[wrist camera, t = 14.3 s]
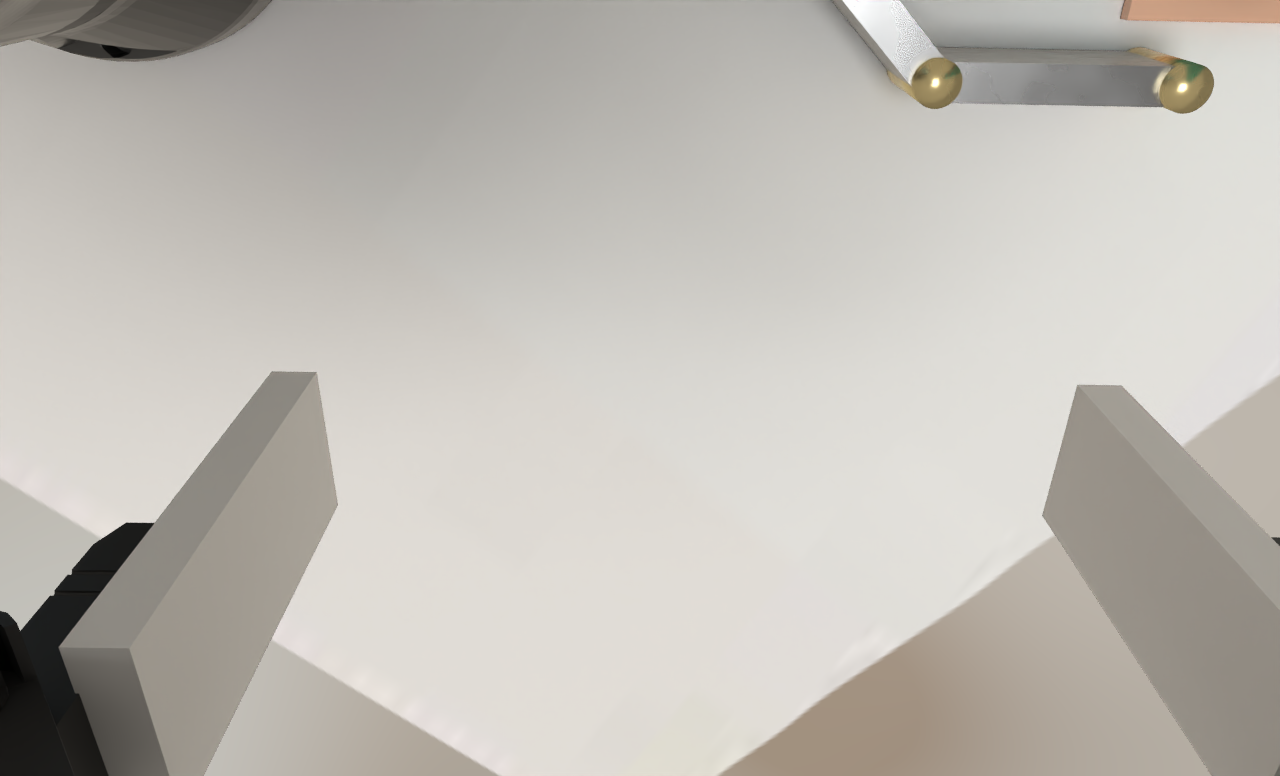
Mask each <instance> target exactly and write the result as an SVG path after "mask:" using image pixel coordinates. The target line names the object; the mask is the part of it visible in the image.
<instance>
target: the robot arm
mask: <svg viewBox="0 0 1280 776" xmlns="http://www.w3.org/2000/svg"><path fill="white" fill-rule="evenodd" d="M270 1H271V0H0V47H1V46H5V45H9V44H14V43H18V42H22V41H26V40H32V41H35V42H38V43H41V44H44V45H48V46H51V47H54V48H57V49H60V50H63V51H67V52H70V53H74V54H78V55H82V56H86V57H90V58H96V59H102V60H111V61H131V62H137V61H153V60H160V59H166V58H171V57H175V56H179V55H182V54H185V53H188V52H191V51H194V50H197V49H200V48H203V47H206V46H209V45H212V44H214V43H216V42H219V41H221V40H223V39H225V38H227V37H229V36H230V35H232V34H234V33H235V32H237V31H238V30H240V29H241V28H243V27H244V26H246V25H247V24H248V23H249V22H251V21H252V20H253V19H254V18H255V17H256V16H257V15H258V14H259V13H260V12H262V11H263V10H264V8H265V7H266V6H267V5H268V4H269V3H270ZM337 506H338V503H337V497H336V490H335V484H334V478H333V472H332V465H331V459H330V453H329V447H328V441H327V434H326V428H325V422H324V416H323V409H322V403H321V397H320V391H319V384H318V378H317V372H271V373H270V375H269V376H268V377H267V378H266V380H265V381H264V382H263V384H262V385H261V386H260V387H259V389H258V390H257V391H256V393H255V394H254V395H253V397H252V398H251V399H250V400H249V402H248V403H247V404H246V406H245V407H244V408H243V409H242V411H241V412H240V413H239V415H238V416H237V417H236V419H235V420H234V421H233V422H232V424H231V425H230V426H229V428H228V429H227V430H226V431H225V433H224V434H223V435H222V437H221V438H220V439H219V440H218V442H217V443H216V444H215V446H214V447H213V448H212V450H211V451H210V452H209V453H208V455H207V456H206V457H205V459H204V460H203V461H202V462H201V464H200V465H199V466H198V468H197V469H196V470H195V472H194V473H193V474H192V475H191V477H190V478H189V479H188V481H187V482H186V483H185V484H184V486H183V487H182V488H181V490H180V491H179V492H178V493H177V495H176V496H175V497H174V499H173V500H172V501H171V503H170V504H169V505H168V506H167V508H166V509H165V510H164V512H163V513H162V514H161V515H160V517H159V518H158V519H157V521H156V522H155V523H125V524H124V525H122V526H121V527H119V528H117V529H116V530H114V531H113V532H111V533H110V534H108V535H107V536H105V537H104V538H102V539H101V540H99V541H98V542H96V543H95V544H93V546H92V547H91V548H90V549H89V550H88V551H87V553H86V554H85V555H84V556H83V557H82V558H81V560H80V561H79V562H78V563H77V564H76V566H75V567H74V568H73V569H72V574H71V575H67V576H66V577H65V579H64V580H63V581H62V582H61V583H60V585H59V586H58V587H57V588H56V589H55V594H54V596H49V598H48V599H47V600H46V601H45V602H44V604H43V605H42V606H41V607H40V609H39V610H38V611H37V612H36V613H35V614H34V615H33V617H32V618H31V619H30V620H29V621H28V623H27V624H26V625H25V626H24V628H23V629H22V630H21V631H20V630H19V628H18V625H17V623H16V622H15V621H14V619H13V618H12V617H11V616H10V615H9V614H8V613H6V612H2V611H0V776H204V774H205V772H206V770H207V768H208V766H209V764H210V762H211V760H212V758H213V756H214V754H215V752H216V750H217V748H218V746H219V744H220V742H221V740H222V738H223V736H224V734H225V732H226V730H227V728H228V726H229V724H230V722H231V719H232V717H233V715H234V713H235V711H236V709H237V707H238V705H239V703H240V701H241V699H242V697H243V695H244V693H245V691H246V689H247V687H248V685H249V683H250V681H251V679H252V677H253V675H254V673H255V671H256V669H257V667H258V665H259V663H260V661H261V659H262V657H263V655H264V653H265V651H266V649H267V647H268V645H269V643H270V641H271V639H272V637H273V635H274V633H275V631H276V629H277V627H278V625H279V623H280V621H281V619H282V617H283V615H284V613H285V611H286V608H287V606H288V604H289V602H290V600H291V598H292V596H293V594H294V592H295V590H296V588H297V586H298V584H299V582H300V580H301V578H302V576H303V574H304V572H305V570H306V568H307V566H308V564H309V562H310V560H311V558H312V556H313V554H314V552H315V550H316V548H317V546H318V544H319V542H320V540H321V538H322V536H323V534H324V532H325V530H326V528H327V526H328V524H329V522H330V520H331V518H332V516H333V514H334V512H335V510H336V508H337ZM1042 516H1043V517H1044V519H1045V520H1046V522H1047V524H1048V525H1049V527H1050V528H1051V530H1052V531H1053V533H1054V534H1055V536H1056V537H1057V539H1058V540H1059V542H1060V543H1061V545H1062V547H1063V548H1064V550H1065V551H1066V553H1067V554H1068V556H1069V557H1070V559H1071V560H1072V562H1073V563H1074V565H1075V567H1076V568H1077V570H1078V571H1079V573H1080V574H1081V576H1082V577H1083V579H1084V580H1085V582H1086V583H1087V585H1088V587H1089V588H1090V590H1091V591H1092V592H1093V594H1094V596H1095V597H1096V599H1097V600H1098V602H1099V603H1100V605H1101V607H1102V608H1103V610H1104V611H1105V613H1106V614H1107V616H1108V617H1109V619H1110V620H1111V622H1112V623H1113V625H1114V626H1115V628H1116V629H1117V631H1118V633H1119V634H1120V636H1121V637H1122V639H1123V640H1124V642H1125V643H1126V645H1127V646H1128V648H1129V650H1130V651H1131V653H1132V654H1133V655H1134V657H1135V659H1136V660H1137V662H1138V663H1139V665H1140V666H1141V668H1142V670H1143V671H1144V673H1145V674H1146V676H1147V677H1148V679H1149V680H1150V682H1151V683H1152V685H1153V686H1154V688H1155V690H1156V691H1157V692H1158V694H1159V696H1160V697H1161V699H1162V700H1163V702H1164V703H1165V705H1166V706H1167V708H1168V710H1169V711H1170V713H1171V714H1172V716H1173V717H1174V719H1175V720H1176V722H1177V723H1178V725H1179V726H1180V728H1181V729H1182V731H1183V733H1184V734H1185V736H1186V737H1187V739H1188V740H1189V742H1190V743H1191V745H1192V746H1193V748H1194V749H1195V751H1196V753H1197V754H1198V756H1199V757H1200V759H1201V760H1202V762H1203V763H1204V765H1205V766H1206V768H1207V769H1208V771H1209V773H1210V774H1211V775H1212V776H1280V538H1272V537H1270V536H1269V535H1268V534H1267V533H1266V532H1265V531H1264V530H1263V529H1262V528H1261V527H1260V526H1259V525H1258V524H1257V523H1256V522H1255V521H1254V520H1253V519H1252V518H1251V517H1250V516H1249V515H1248V514H1247V512H1246V511H1244V510H1243V508H1242V507H1241V506H1240V505H1239V504H1238V503H1237V502H1236V501H1235V500H1234V499H1233V498H1232V497H1231V496H1230V495H1229V494H1228V493H1227V492H1226V491H1225V490H1224V489H1223V488H1222V487H1221V486H1220V485H1219V484H1218V483H1217V482H1216V481H1215V480H1214V479H1213V478H1212V477H1211V476H1210V475H1209V474H1208V473H1207V472H1206V471H1205V470H1204V469H1203V468H1202V467H1201V466H1200V465H1199V464H1198V463H1197V462H1196V461H1195V460H1194V459H1193V458H1192V457H1191V456H1190V455H1189V454H1188V453H1187V452H1186V451H1185V450H1184V449H1183V448H1182V447H1181V445H1180V444H1179V443H1178V442H1177V441H1176V440H1175V439H1174V438H1173V437H1172V436H1171V435H1170V434H1169V433H1168V432H1167V431H1166V430H1165V429H1164V428H1163V427H1162V426H1161V425H1160V424H1159V423H1158V422H1157V421H1156V420H1155V419H1154V418H1153V417H1152V416H1151V415H1150V414H1149V413H1148V412H1147V411H1146V410H1145V409H1144V408H1143V407H1142V406H1141V405H1140V404H1139V403H1138V402H1137V401H1136V400H1135V399H1134V398H1133V397H1132V396H1131V395H1130V394H1129V393H1128V392H1127V391H1126V390H1125V389H1124V388H1123V387H1122V386H1116V385H1077V388H1076V392H1075V396H1074V400H1073V403H1072V407H1071V411H1070V414H1069V418H1068V422H1067V426H1066V429H1065V433H1064V437H1063V440H1062V444H1061V448H1060V452H1059V455H1058V459H1057V463H1056V467H1055V470H1054V474H1053V478H1052V481H1051V485H1050V489H1049V493H1048V496H1047V500H1046V504H1045V507H1044V511H1043V515H1042Z"/></svg>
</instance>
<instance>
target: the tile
mask: <svg viewBox="0 0 1280 776" xmlns="http://www.w3.org/2000/svg"><path fill="white" fill-rule="evenodd" d="M1121 19H1125V20H1142V21H1191V22H1241V23H1280V0H1125V2H1124V6H1123V10H1122V14H1121Z"/></svg>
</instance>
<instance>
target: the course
mask: <svg viewBox="0 0 1280 776" xmlns="http://www.w3.org/2000/svg"><path fill="white" fill-rule="evenodd" d="M831 1H832V2H833V3H834V4H835V6H836V7H837V8H838V9H839V11H840V12H841V13H842V14H843V16H844V17H845V18H846V19H847V21H848V22H849V23H850V24H851V26H852V27H853V28H854V29H855V31H856V32H857V33H858V34H859V36H860V37H861V38H862V39H863V40H864V42H865V43H866V44H867V45H868V47H869V48H870V49H871V50H872V52H873V53H874V54H875V55H876V57H877V58H878V59H879V60H880V62H881V63H882V64H883V65H884V67H885V68H886V69H887V74H888V77H889V79H890V80H891V81H892V82H893V83H894V84H895V85H896V86H898V87H899V88H900V89H902V90H903V91H904V92H906V93H907V94H908V95H910V96H911V97H913V98H914V99H915V100H917V101H918V102H919V103H921V104H922V105H923V106H925V107H928V108H931V109H938V108H942V107H945V106H947V105H949V104H950V103H975V104H1027V105H1078V106H1130V107H1164V108H1166V109H1169V110H1171V111H1174V112H1176V113H1182V114H1183V113H1190V112H1193V111H1195V110H1197V109H1198V108H1200V107H1201V106H1202V105H1203V104H1204V103H1205V102H1206V101H1207V100H1208V99H1209V97H1210V95H1211V93H1212V90H1213V87H1214V79H1213V75H1212V73H1211V71H1210V70H1209V69H1208V68H1207V67H1205V66H1203V65H1200V64H1196V63H1193V62H1190V61H1186V60H1183V59H1180V58H1176V57H1173V56H1170V55H1166V54H1163V53H1160V52H1156V51H1153V50H1150V49H1146V48H1142V47H1137V48H1133V49H1130V50H1128V51H1109V50H1058V49H1008V48H958V47H935V46H934V45H933V43H932V42H931V41H930V39H929V38H928V37H927V35H926V34H925V33H924V32H923V30H922V29H921V28H920V26H919V25H918V24H917V22H916V21H915V20H914V19H913V17H912V16H911V15H910V13H909V12H908V11H907V10H906V8H905V7H904V6H903V4H902V3H901V2H900V0H831Z"/></svg>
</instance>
